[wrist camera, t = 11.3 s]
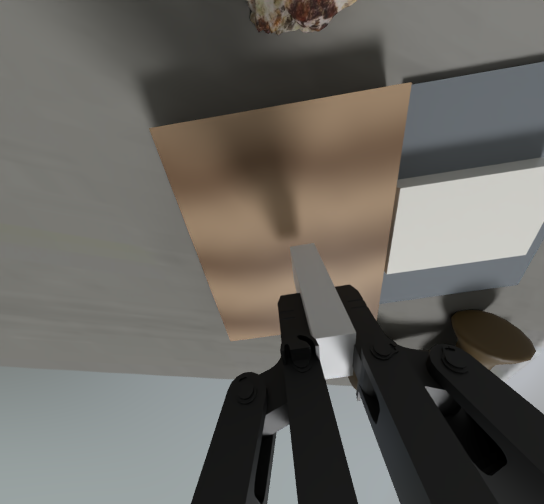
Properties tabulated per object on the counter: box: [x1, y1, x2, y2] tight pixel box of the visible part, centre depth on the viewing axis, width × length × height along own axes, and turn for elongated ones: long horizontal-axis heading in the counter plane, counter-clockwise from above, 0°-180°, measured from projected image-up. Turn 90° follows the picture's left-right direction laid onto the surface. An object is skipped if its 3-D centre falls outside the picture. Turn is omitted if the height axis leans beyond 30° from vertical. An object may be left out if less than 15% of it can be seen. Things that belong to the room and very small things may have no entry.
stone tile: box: [384, 157, 544, 274], centre depth 16 cm, size 7×11×2 cm, turn 98°
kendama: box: [348, 310, 536, 390], centre depth 24 cm, size 6×10×20 cm
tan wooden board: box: [149, 82, 412, 341], centre depth 17 cm, size 18×14×2 cm
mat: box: [379, 62, 544, 304], centre depth 17 cm, size 18×14×1 cm
